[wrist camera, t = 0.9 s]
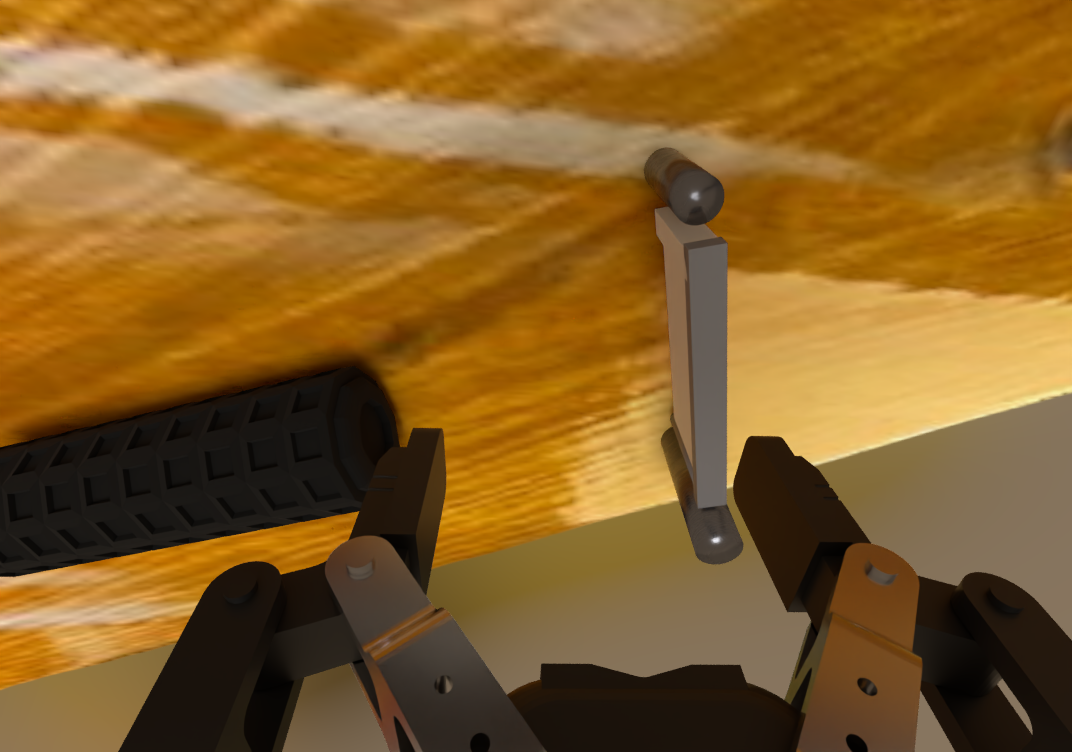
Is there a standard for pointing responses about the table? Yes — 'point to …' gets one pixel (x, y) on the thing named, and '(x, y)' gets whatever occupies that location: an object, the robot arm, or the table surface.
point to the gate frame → (709, 527)
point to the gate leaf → (698, 350)
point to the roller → (193, 472)
